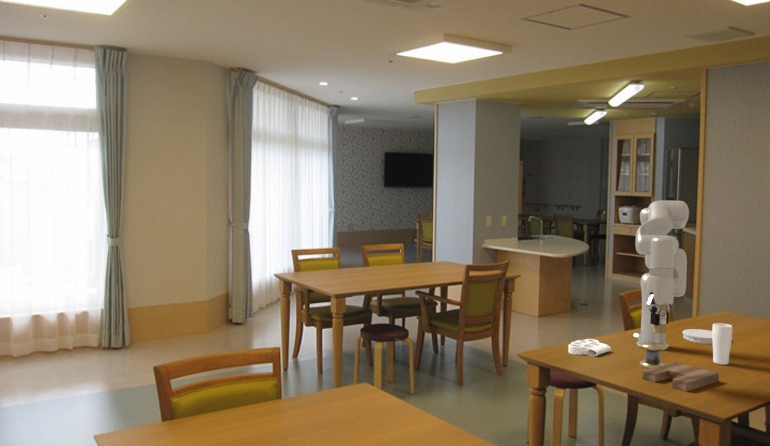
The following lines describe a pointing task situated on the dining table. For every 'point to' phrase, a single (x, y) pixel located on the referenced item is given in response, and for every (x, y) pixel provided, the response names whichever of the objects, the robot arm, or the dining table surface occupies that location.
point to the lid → (698, 335)
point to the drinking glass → (721, 342)
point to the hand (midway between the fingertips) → (659, 323)
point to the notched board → (681, 376)
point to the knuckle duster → (588, 347)
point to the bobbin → (652, 354)
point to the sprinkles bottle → (661, 320)
